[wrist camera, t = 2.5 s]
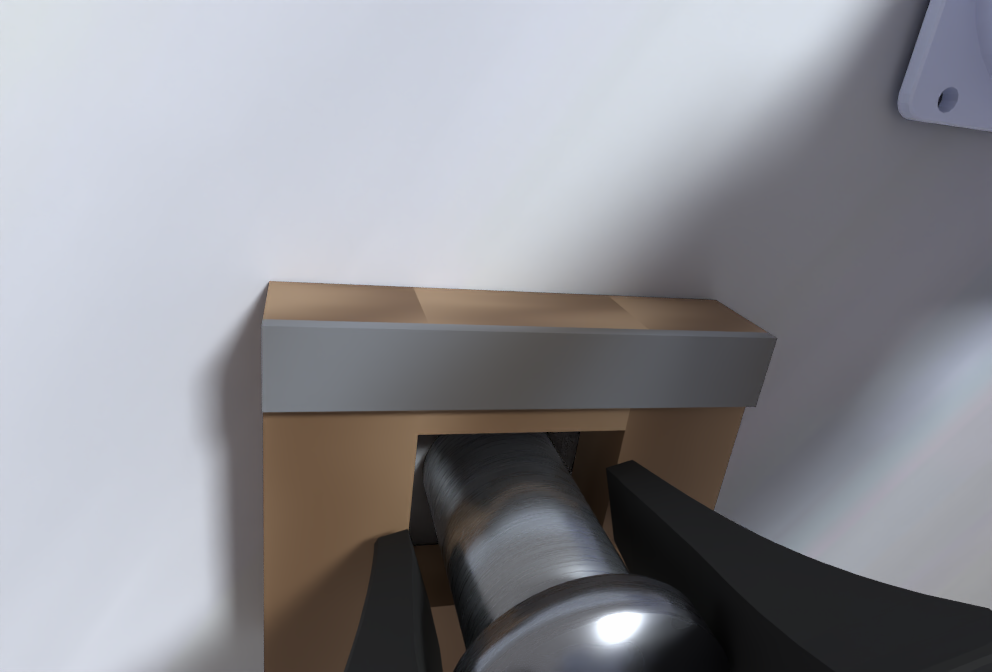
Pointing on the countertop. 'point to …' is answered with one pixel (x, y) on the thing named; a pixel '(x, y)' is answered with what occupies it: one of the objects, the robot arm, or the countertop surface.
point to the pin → (547, 569)
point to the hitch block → (467, 422)
